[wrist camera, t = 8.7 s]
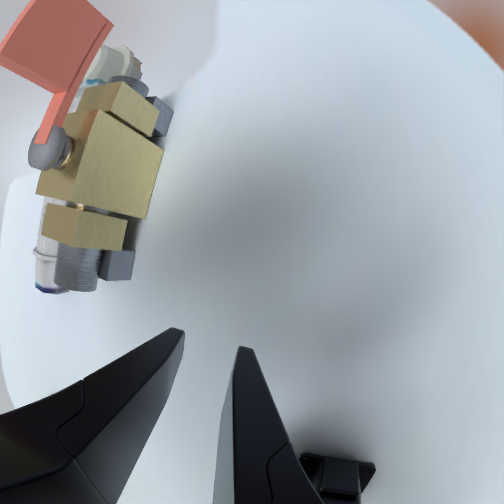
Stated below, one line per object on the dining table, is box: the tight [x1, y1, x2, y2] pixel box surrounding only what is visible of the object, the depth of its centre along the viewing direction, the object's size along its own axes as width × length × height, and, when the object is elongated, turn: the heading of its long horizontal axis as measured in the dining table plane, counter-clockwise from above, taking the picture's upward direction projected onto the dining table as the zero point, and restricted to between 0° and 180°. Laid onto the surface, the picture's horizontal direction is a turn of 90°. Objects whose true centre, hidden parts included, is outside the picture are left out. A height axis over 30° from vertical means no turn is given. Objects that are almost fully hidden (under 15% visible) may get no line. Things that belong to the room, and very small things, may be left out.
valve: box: [35, 76, 173, 292], centre depth 19 cm, size 16×5×9 cm, turn 166°
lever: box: [0, 0, 114, 171], centre depth 11 cm, size 11×3×7 cm, turn 164°
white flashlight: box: [33, 45, 142, 294], centre depth 23 cm, size 5×7×25 cm
